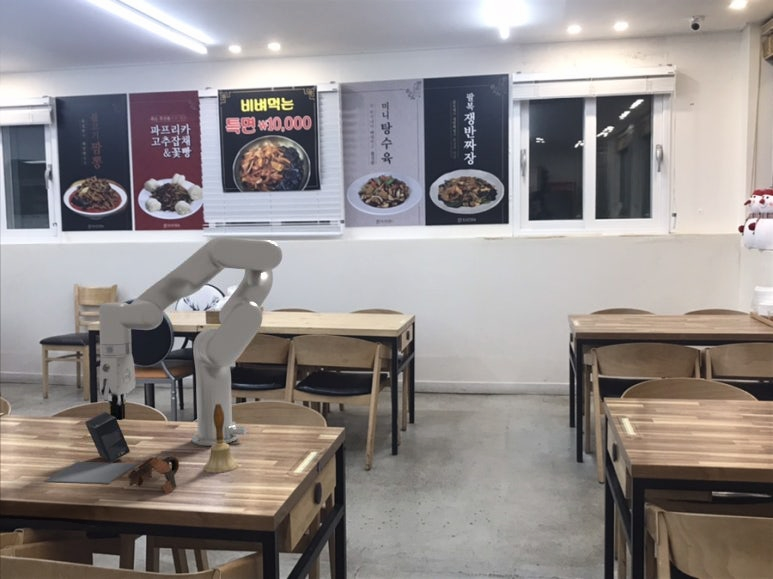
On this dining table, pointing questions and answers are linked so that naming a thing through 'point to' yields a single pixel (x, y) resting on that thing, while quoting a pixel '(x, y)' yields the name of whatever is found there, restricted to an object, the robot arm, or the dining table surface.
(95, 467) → the mat
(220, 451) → the hand bell
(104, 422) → the box
